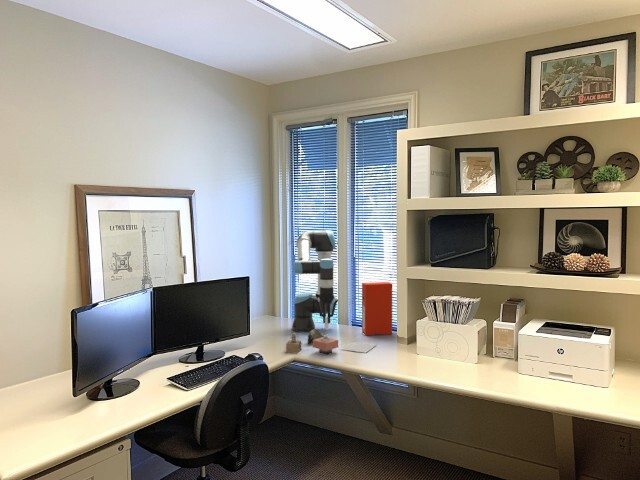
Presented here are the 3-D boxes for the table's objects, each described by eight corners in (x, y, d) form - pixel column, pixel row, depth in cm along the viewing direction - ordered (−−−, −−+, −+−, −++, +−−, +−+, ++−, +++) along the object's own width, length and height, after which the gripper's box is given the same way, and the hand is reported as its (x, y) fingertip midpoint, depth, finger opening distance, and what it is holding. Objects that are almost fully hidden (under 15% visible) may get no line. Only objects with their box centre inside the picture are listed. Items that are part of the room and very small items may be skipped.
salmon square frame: (325, 343, 270) (325, 336, 270) (338, 347, 263) (338, 339, 262) (312, 347, 263) (312, 339, 263) (325, 351, 256) (325, 343, 255)
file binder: (361, 332, 305) (362, 282, 303) (387, 331, 308) (388, 281, 306) (365, 335, 297) (365, 284, 295) (392, 334, 300) (392, 283, 298)
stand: (289, 348, 270) (289, 331, 270) (301, 349, 269) (301, 332, 268) (286, 352, 263) (286, 334, 263) (298, 353, 262) (298, 335, 262)
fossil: (324, 345, 275) (316, 330, 275) (310, 352, 277) (302, 336, 276) (326, 339, 286) (318, 324, 286) (313, 346, 287) (305, 331, 287)
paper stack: (392, 348, 272) (392, 346, 272) (376, 360, 250) (376, 359, 250) (354, 343, 282) (354, 341, 282) (336, 354, 260) (336, 353, 260)
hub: (320, 350, 267) (320, 332, 266) (332, 350, 266) (332, 333, 265) (318, 354, 260) (318, 336, 259) (330, 354, 259) (330, 336, 258)
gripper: (313, 287, 262) (313, 330, 263) (337, 288, 259) (337, 331, 261) (316, 285, 269) (316, 326, 271) (339, 286, 267) (339, 327, 268)
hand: (326, 328), depth 266 cm, fingers closed
